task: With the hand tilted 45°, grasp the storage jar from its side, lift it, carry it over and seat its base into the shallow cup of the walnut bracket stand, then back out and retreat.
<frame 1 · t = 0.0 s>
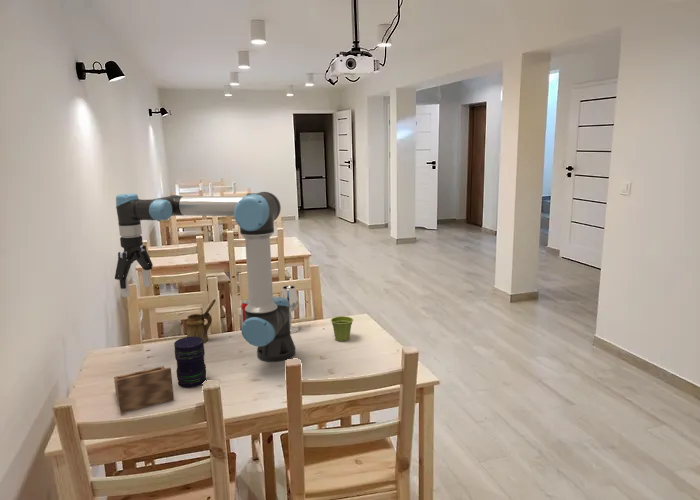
hand: (136, 291, 187), 28 cm above the table, tool pointing down, fingers open, 13 cm apart
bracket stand: (144, 395, 165), on the table
plant pot: (342, 339, 211), on the table
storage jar: (192, 382, 175), on the table
wooden mug: (202, 341, 212), on the table
soda can: (251, 333, 219), on the table
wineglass: (290, 330, 222), on the table
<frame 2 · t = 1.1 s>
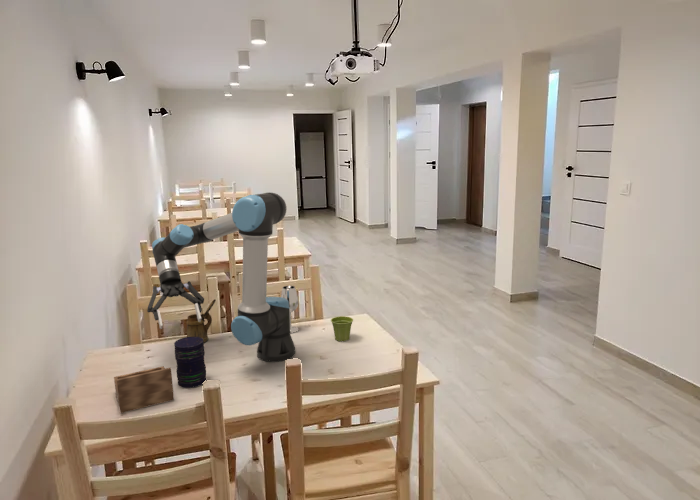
hand: (181, 323, 180), 18 cm above the table, tool tilted 45°, fingers open, 13 cm apart
nothing on the table moved.
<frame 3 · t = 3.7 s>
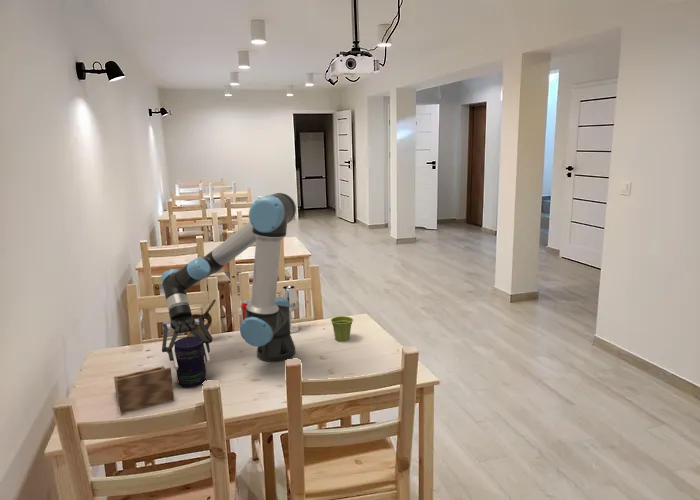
hand: (192, 364, 171), 7 cm above the table, tool tilted 45°, fingers closed on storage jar, 10 cm apart
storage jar: (192, 382, 175), on the table, touching gripper
everything else where it was.
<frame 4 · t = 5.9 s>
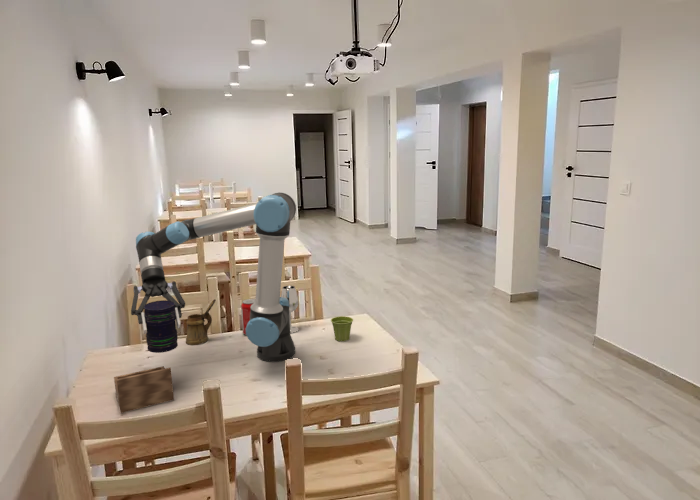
hand: (162, 329, 164), 22 cm above the table, tool tilted 45°, fingers closed on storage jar, 10 cm apart
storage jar: (162, 347, 168), point 14 cm above the table, touching gripper
everything else where it was.
when the fingers open (13 cm above the table, at t = 8.4 s): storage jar drops 1 cm, resting on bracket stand.
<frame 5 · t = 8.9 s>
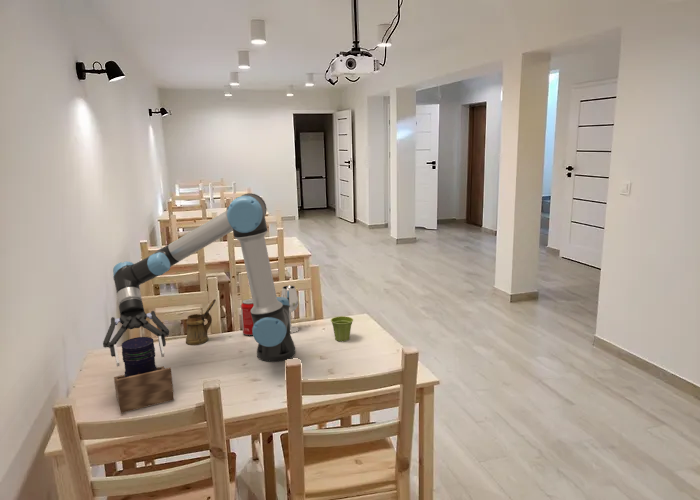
hand: (141, 360, 160), 14 cm above the table, tool tilted 45°, fingers open, 13 cm apart
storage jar: (142, 385, 164), point 4 cm above the table, touching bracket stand
everything else where it was.
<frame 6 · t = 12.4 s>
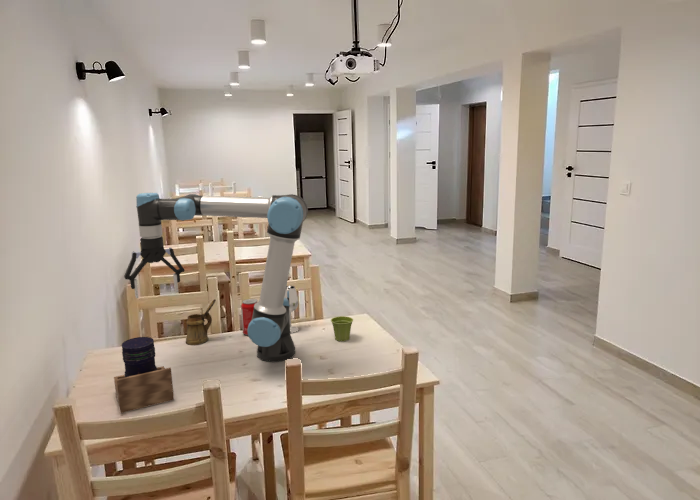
hand: (157, 294, 180), 29 cm above the table, tool pointing down, fingers open, 13 cm apart
nothing on the table moved.
at the end: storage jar 0.2 cm from the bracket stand (horizontally); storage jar point 3.8 cm above the table; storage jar tilted 0° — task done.
